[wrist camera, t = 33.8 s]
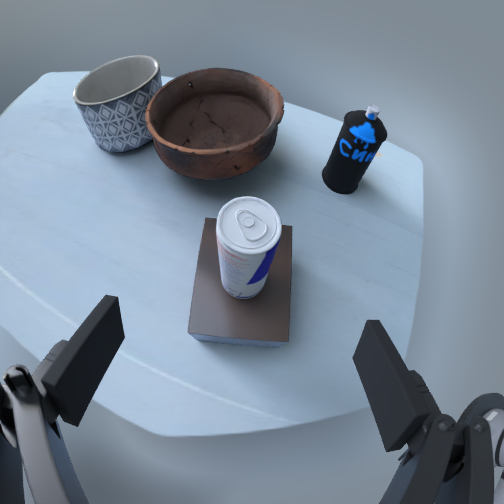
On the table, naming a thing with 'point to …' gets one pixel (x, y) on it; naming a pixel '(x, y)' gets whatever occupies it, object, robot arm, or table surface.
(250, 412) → the table surface
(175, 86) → the bowl
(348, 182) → the aerosol can
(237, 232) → the beverage can
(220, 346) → the table surface
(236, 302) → the chest lid
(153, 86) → the planter
